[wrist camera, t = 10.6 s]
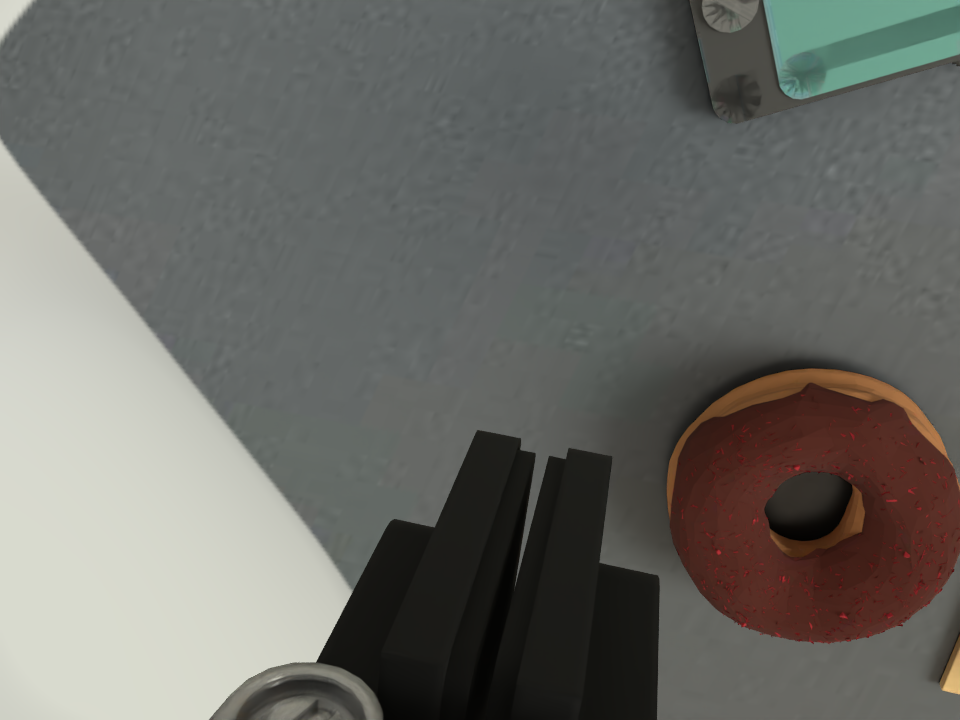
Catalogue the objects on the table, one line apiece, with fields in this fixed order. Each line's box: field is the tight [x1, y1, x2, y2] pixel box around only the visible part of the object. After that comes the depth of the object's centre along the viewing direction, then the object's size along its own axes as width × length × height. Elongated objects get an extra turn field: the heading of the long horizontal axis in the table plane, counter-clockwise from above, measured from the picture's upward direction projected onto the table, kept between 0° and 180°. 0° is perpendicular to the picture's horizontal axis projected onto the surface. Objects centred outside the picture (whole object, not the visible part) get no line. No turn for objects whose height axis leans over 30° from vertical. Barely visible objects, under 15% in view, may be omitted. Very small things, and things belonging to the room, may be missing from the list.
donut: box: [667, 368, 960, 644], centre depth 31 cm, size 10×10×4 cm
